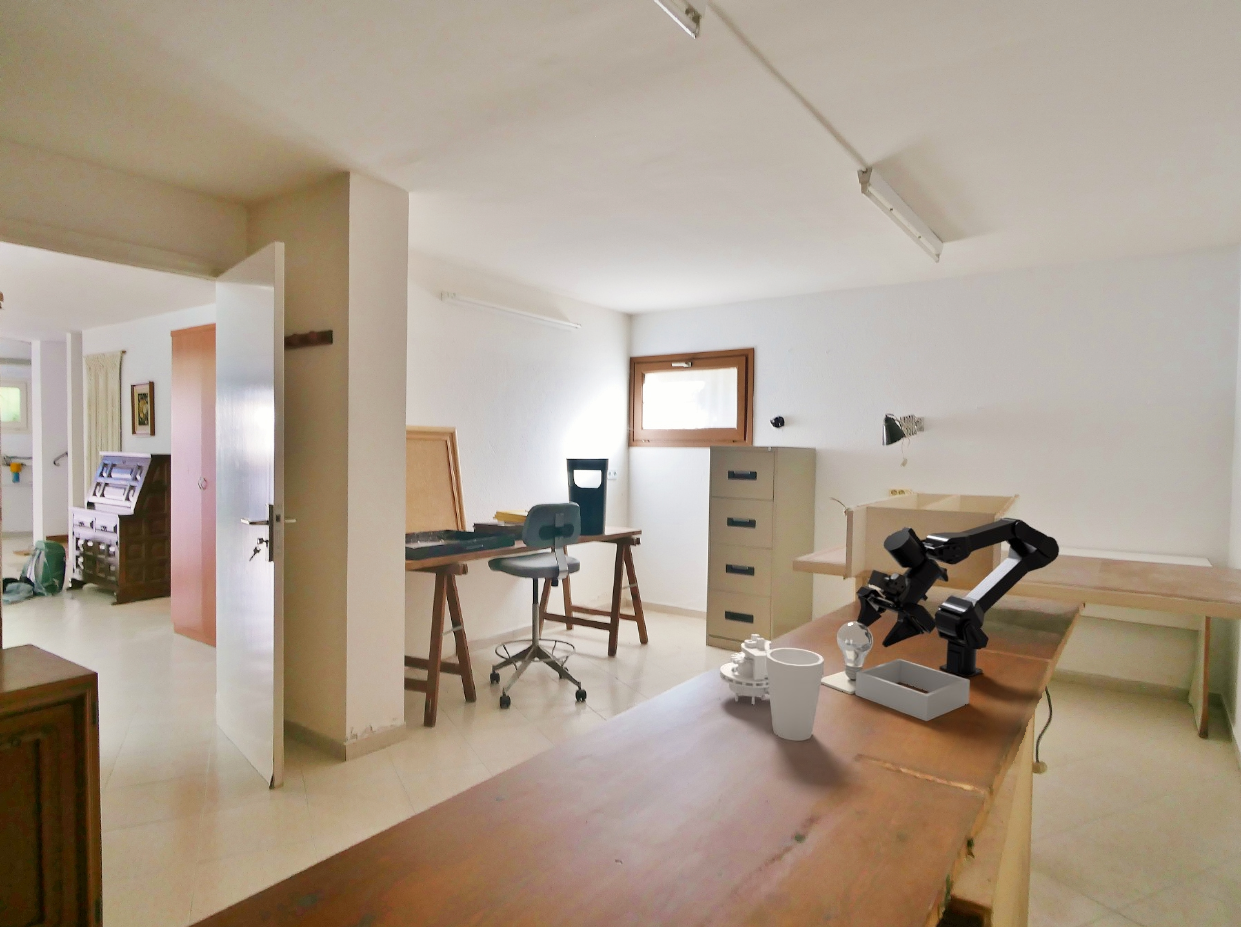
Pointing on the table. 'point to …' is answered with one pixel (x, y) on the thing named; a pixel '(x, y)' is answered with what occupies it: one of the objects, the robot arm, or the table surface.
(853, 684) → the cream board
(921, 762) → the table surface
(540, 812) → the table surface
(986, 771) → the table surface
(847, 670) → the light bulb
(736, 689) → the mechanical part
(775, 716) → the foam cup
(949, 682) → the grey box
